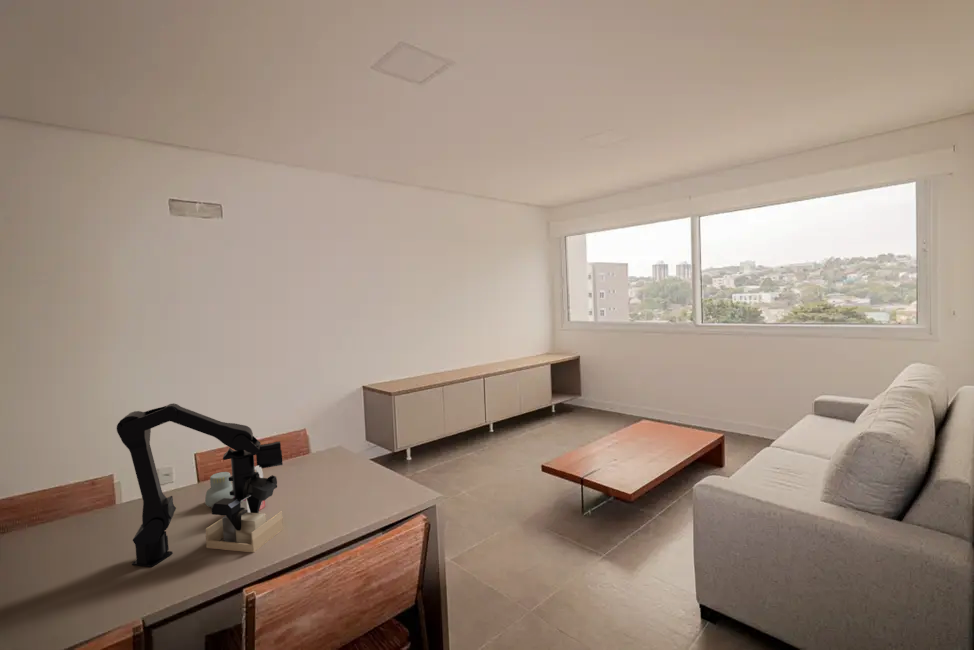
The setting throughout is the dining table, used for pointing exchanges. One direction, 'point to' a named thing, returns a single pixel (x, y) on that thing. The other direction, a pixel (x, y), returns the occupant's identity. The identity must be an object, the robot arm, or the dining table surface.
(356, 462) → the dining table surface
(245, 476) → the robot arm
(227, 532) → the steel ended block
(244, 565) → the dining table surface
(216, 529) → the wooden tray frame
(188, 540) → the dining table surface
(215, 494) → the air freshener
